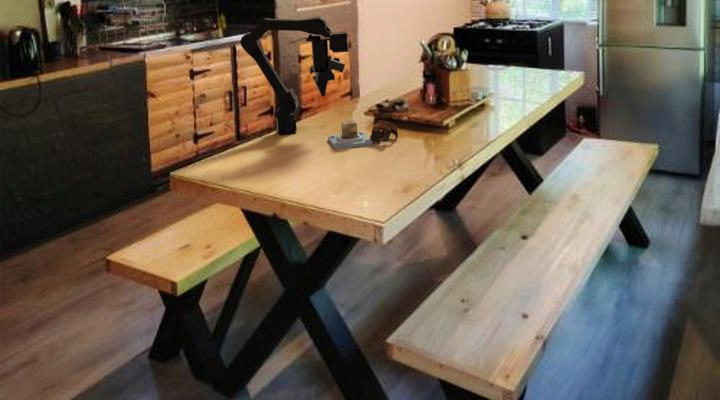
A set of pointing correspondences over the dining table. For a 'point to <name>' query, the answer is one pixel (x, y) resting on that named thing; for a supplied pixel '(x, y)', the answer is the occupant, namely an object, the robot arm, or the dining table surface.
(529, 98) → the dining table surface
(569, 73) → the dining table surface
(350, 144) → the board
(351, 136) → the block
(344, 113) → the dining table surface
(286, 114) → the robot arm
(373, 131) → the pottery mug
